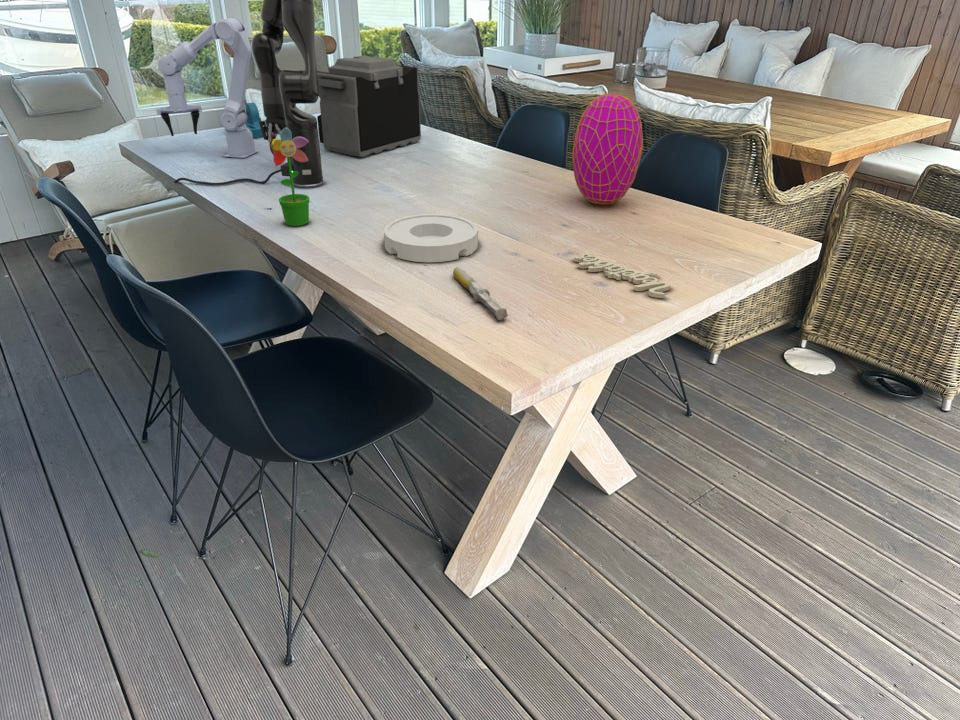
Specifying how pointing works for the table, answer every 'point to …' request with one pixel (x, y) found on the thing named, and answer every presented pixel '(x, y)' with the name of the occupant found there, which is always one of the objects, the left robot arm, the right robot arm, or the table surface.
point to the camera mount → (253, 120)
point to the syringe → (479, 293)
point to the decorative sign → (625, 274)
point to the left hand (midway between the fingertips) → (184, 134)
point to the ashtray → (431, 237)
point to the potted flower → (291, 178)
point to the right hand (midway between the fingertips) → (281, 154)
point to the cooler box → (368, 106)
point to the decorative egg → (607, 148)
